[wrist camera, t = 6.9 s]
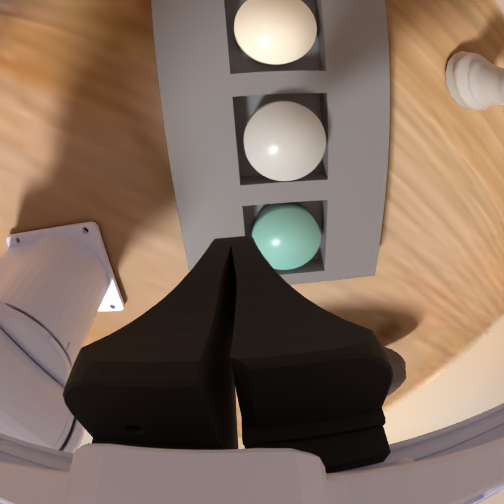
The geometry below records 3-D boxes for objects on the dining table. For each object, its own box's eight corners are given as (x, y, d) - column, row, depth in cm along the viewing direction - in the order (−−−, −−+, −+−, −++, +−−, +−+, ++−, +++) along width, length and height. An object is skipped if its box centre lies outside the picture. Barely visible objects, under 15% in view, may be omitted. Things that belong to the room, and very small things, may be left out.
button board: (196, 276, 24) (194, 292, 22) (158, -6, 14) (150, -14, 12) (365, 260, 24) (374, 275, 22) (370, -11, 14) (382, -18, 12)
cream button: (237, 67, 16) (237, 66, 15) (231, -2, 14) (231, -7, 13) (314, 64, 16) (319, 63, 15) (308, -3, 14) (313, -8, 13)
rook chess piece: (486, 61, 16) (564, 74, 9) (481, 114, 18) (557, 143, 11) (443, 43, 15) (524, 45, 9) (439, 101, 18) (517, 124, 11)
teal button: (253, 263, 23) (254, 272, 22) (248, 204, 20) (249, 211, 19) (315, 257, 23) (319, 266, 22) (316, 199, 20) (321, 206, 19)
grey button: (246, 177, 19) (247, 184, 17) (240, 103, 16) (240, 104, 15) (320, 172, 19) (325, 178, 17) (319, 99, 16) (325, 101, 15)
